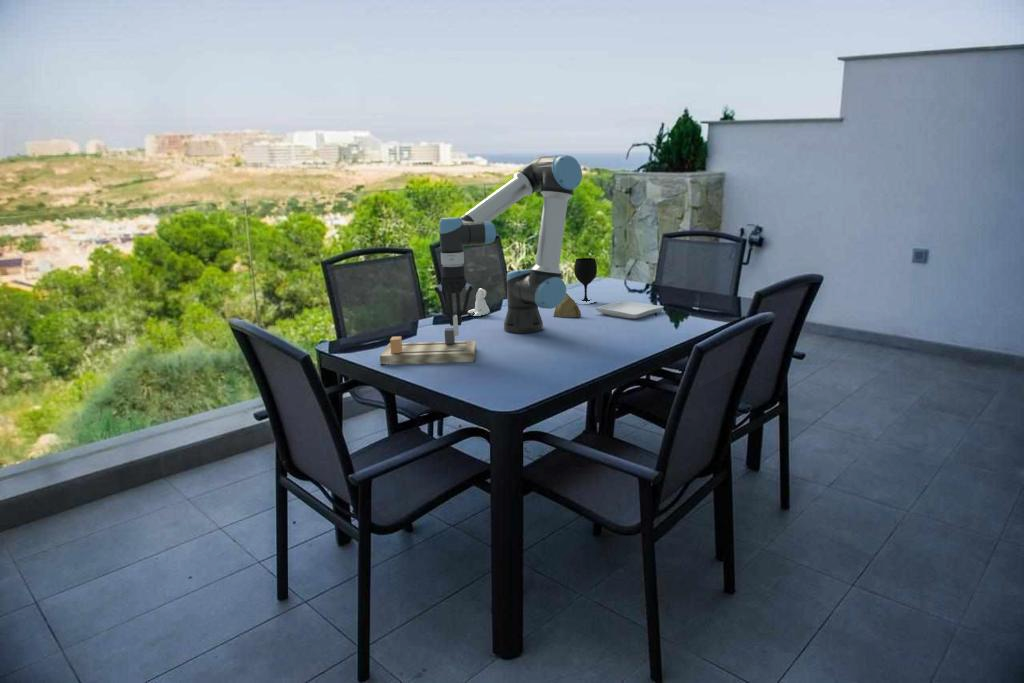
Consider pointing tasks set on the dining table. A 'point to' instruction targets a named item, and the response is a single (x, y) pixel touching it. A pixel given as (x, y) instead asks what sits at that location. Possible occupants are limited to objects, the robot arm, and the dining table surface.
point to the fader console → (430, 353)
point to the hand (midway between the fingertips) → (456, 334)
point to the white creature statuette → (480, 304)
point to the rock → (567, 308)
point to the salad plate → (628, 309)
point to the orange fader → (396, 344)
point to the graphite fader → (449, 336)
